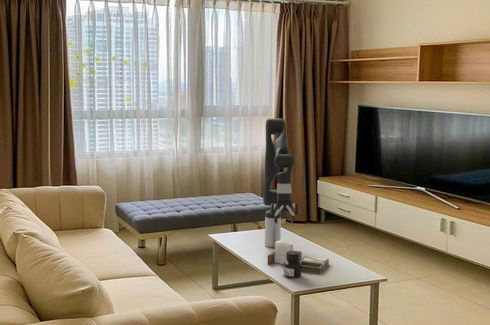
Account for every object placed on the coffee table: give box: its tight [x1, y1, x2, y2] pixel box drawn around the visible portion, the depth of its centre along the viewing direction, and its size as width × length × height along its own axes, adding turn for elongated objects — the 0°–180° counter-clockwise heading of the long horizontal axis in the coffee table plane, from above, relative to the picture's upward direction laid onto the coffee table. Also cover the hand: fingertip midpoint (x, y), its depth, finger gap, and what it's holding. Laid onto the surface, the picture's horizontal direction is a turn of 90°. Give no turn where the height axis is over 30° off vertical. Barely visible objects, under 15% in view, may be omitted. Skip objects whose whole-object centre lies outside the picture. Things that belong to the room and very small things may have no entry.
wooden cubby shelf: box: [267, 249, 302, 265], centre depth 318 cm, size 14×14×5 cm
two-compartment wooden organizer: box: [300, 255, 330, 275], centre depth 311 cm, size 17×13×3 cm
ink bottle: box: [283, 250, 303, 279], centre depth 297 cm, size 10×9×12 cm
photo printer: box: [273, 240, 294, 265], centre depth 316 cm, size 10×4×12 cm, turn 56°
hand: (284, 223), depth 312 cm, fingers open, 8 cm apart
